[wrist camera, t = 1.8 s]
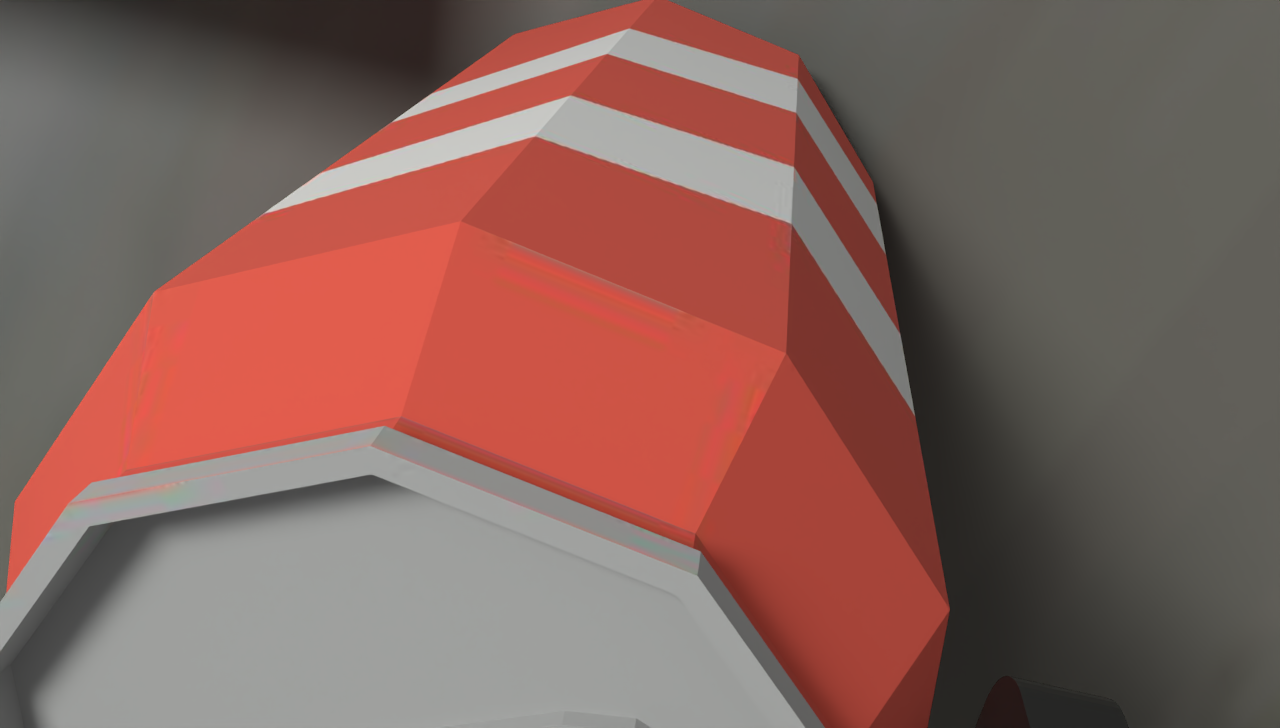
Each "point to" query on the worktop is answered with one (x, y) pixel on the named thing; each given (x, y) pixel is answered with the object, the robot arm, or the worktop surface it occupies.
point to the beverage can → (510, 428)
